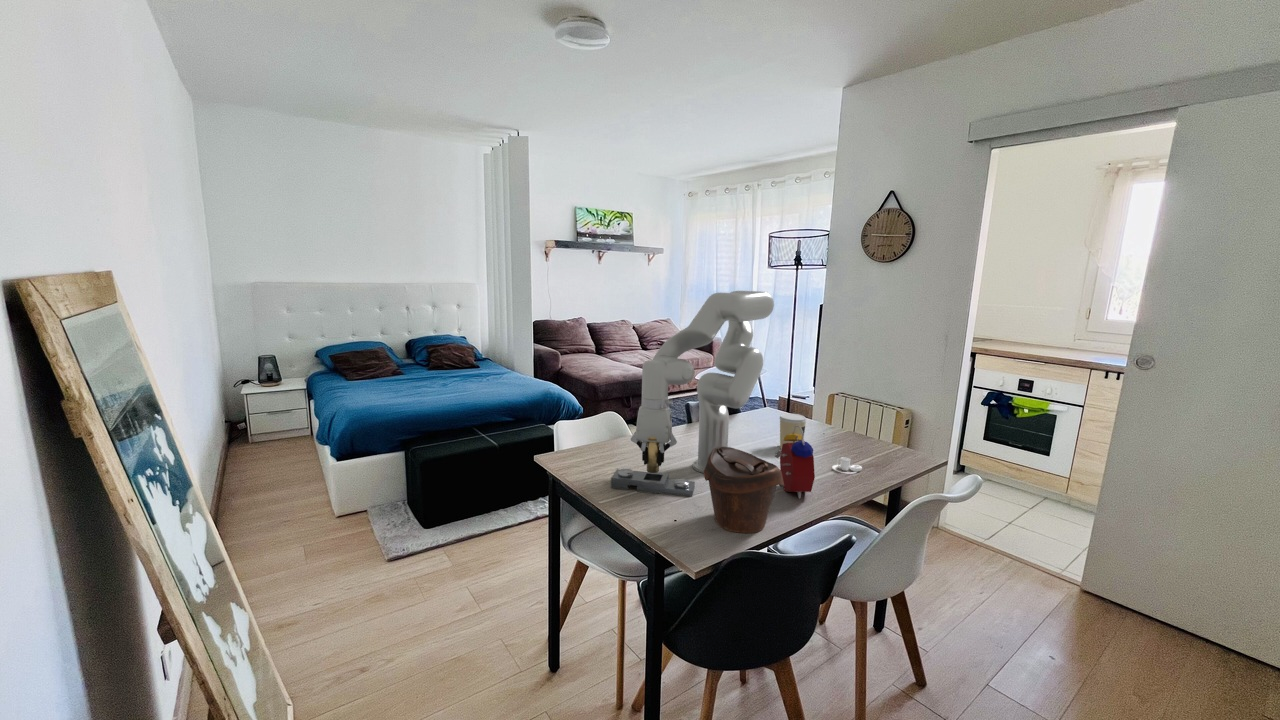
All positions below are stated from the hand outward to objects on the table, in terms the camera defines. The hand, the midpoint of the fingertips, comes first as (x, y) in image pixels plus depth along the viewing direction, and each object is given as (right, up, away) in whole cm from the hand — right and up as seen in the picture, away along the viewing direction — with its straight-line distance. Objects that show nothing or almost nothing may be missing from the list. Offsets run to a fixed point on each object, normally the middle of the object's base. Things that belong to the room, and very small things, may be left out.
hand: (653, 463), depth 150 cm
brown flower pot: (+22, -11, -19) cm, 32 cm away
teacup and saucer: (+64, -7, +15) cm, 66 cm away
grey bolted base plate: (0, -7, +1) cm, 8 cm away
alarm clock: (+41, -8, 0) cm, 42 cm away
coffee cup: (+52, -2, +38) cm, 64 cm away
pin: (0, -2, 0) cm, 2 cm away
